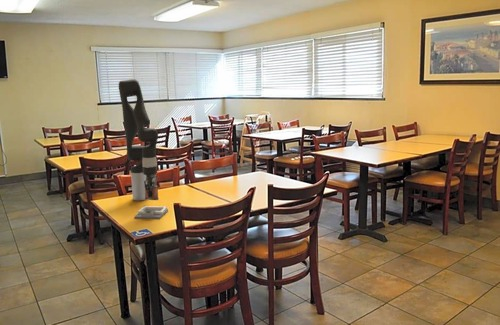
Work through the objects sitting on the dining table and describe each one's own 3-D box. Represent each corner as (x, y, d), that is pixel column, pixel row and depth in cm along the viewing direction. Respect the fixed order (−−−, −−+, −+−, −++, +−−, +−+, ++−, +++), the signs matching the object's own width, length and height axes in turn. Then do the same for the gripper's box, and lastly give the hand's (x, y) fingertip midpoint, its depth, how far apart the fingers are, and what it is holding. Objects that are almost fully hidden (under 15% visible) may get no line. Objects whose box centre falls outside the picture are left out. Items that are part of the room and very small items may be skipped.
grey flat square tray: (143, 210, 239) (143, 205, 239) (168, 211, 238) (167, 205, 237) (134, 218, 226) (134, 212, 225) (160, 218, 224) (159, 213, 223)
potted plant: (143, 199, 232) (142, 181, 230) (147, 197, 235) (146, 180, 234) (156, 200, 229) (155, 182, 228) (159, 198, 232) (158, 181, 231)
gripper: (147, 162, 236) (149, 192, 239) (138, 167, 222) (140, 199, 225) (160, 162, 235) (162, 193, 238) (152, 167, 221) (153, 199, 225)
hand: (151, 196), depth 232 cm, fingers closed on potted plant, 3 cm apart
